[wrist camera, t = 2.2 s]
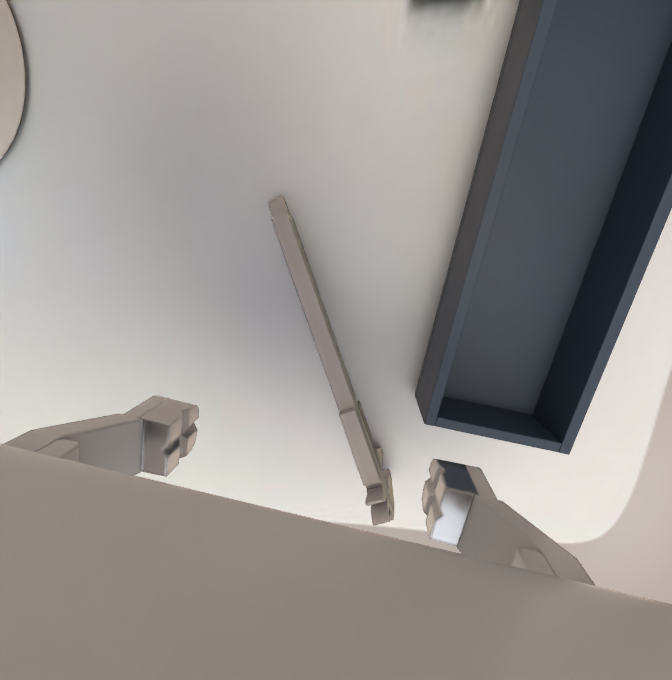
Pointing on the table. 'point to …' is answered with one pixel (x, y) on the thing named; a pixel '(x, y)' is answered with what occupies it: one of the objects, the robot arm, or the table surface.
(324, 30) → the table surface
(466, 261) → the tray
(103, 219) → the table surface
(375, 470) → the caliper
